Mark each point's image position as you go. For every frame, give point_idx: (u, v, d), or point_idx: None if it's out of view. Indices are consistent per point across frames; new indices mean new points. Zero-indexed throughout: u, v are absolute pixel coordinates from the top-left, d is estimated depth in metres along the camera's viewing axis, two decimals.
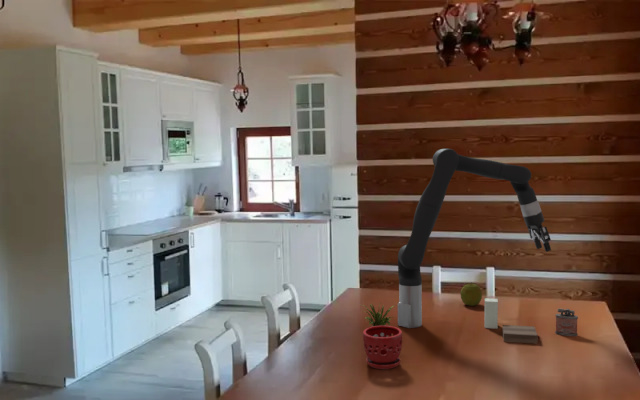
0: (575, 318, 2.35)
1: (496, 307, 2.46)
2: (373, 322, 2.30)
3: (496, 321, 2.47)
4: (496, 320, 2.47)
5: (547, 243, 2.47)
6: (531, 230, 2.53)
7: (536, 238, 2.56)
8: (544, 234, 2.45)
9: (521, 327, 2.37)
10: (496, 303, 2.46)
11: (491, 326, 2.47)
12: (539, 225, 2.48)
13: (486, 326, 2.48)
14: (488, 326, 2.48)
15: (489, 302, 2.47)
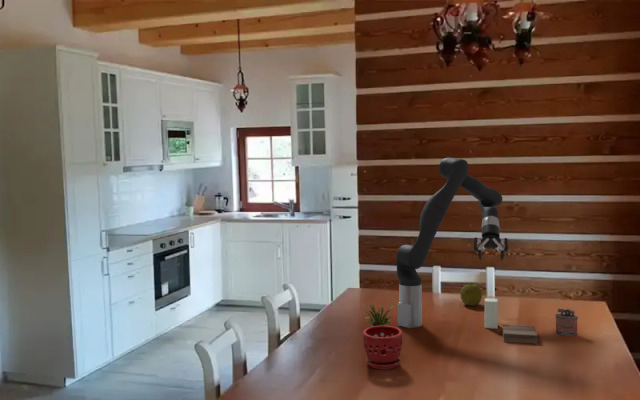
0: (575, 318, 2.35)
1: (496, 307, 2.46)
2: (373, 322, 2.30)
3: (496, 321, 2.47)
4: (496, 320, 2.47)
5: (503, 253, 2.59)
6: (487, 239, 2.63)
7: (480, 250, 2.62)
8: (507, 244, 2.61)
9: (521, 327, 2.37)
10: (496, 303, 2.46)
11: (491, 326, 2.47)
12: (499, 238, 2.64)
13: (486, 326, 2.48)
14: (488, 326, 2.48)
15: (489, 302, 2.47)
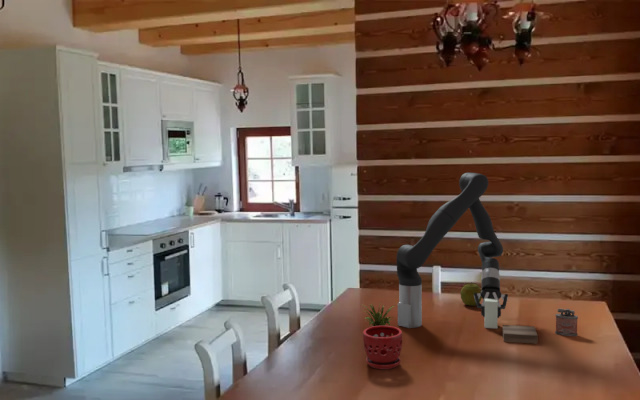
0: (575, 318, 2.35)
1: (496, 307, 2.46)
2: (373, 322, 2.30)
3: (496, 321, 2.47)
4: (496, 320, 2.47)
5: (500, 310, 2.49)
6: (487, 293, 2.53)
7: (484, 306, 2.51)
8: (506, 300, 2.50)
9: (521, 327, 2.37)
10: (496, 303, 2.46)
11: (491, 326, 2.47)
12: None
13: (486, 326, 2.48)
14: (487, 326, 2.48)
15: (489, 302, 2.47)
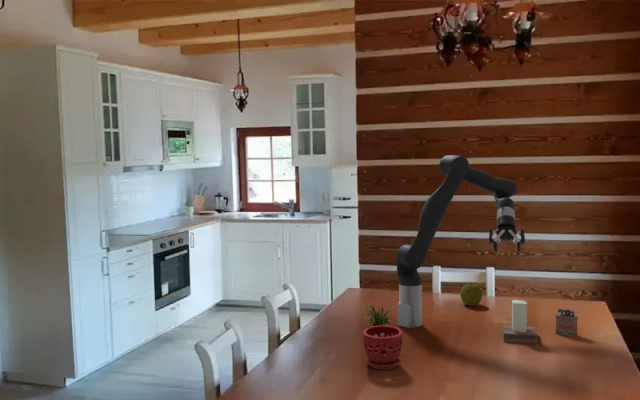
0: (575, 318, 2.35)
1: (525, 309, 2.31)
2: (373, 322, 2.30)
3: (525, 324, 2.31)
4: (525, 324, 2.31)
5: None
6: (503, 230, 2.54)
7: (496, 242, 2.54)
8: None
9: None
10: (525, 305, 2.31)
11: (520, 329, 2.32)
12: (515, 229, 2.56)
13: (514, 330, 2.32)
14: (516, 329, 2.32)
15: (517, 304, 2.31)
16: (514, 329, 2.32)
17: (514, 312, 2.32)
